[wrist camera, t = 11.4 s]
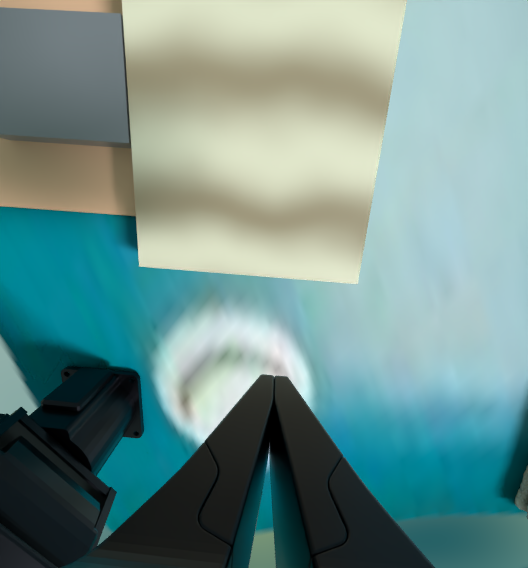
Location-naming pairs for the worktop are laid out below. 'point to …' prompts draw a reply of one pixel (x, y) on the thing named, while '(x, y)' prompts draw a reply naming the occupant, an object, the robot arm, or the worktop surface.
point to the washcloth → (523, 494)
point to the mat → (67, 156)
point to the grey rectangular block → (63, 77)
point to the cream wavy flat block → (258, 131)
